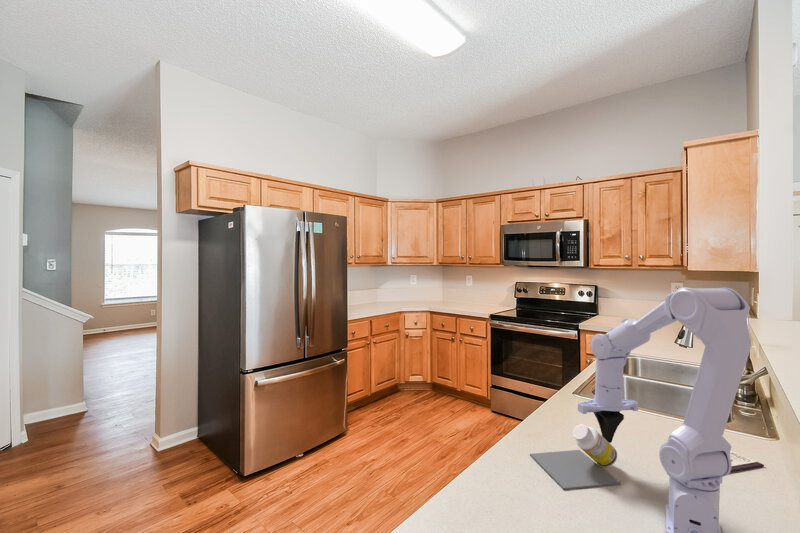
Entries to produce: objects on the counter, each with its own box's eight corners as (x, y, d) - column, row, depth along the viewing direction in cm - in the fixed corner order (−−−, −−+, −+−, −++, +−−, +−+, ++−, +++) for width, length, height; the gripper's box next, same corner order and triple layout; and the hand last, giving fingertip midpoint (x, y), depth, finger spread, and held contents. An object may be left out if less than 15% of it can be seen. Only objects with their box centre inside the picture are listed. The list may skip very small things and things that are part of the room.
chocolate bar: (668, 454, 92) (722, 446, 97) (668, 458, 92) (722, 449, 97) (706, 474, 84) (763, 464, 88) (706, 479, 84) (763, 468, 88)
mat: (579, 451, 94) (579, 449, 94) (620, 484, 80) (620, 482, 80) (529, 455, 92) (529, 453, 92) (563, 489, 78) (563, 488, 78)
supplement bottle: (593, 452, 92) (566, 427, 90) (613, 442, 90) (586, 416, 88) (601, 472, 86) (573, 446, 85) (622, 461, 84) (594, 435, 83)
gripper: (623, 377, 93) (621, 430, 93) (570, 380, 90) (568, 434, 91) (646, 387, 86) (644, 445, 86) (589, 390, 83) (587, 449, 84)
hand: (606, 440), depth 88 cm, fingers closed, pressing on supplement bottle
